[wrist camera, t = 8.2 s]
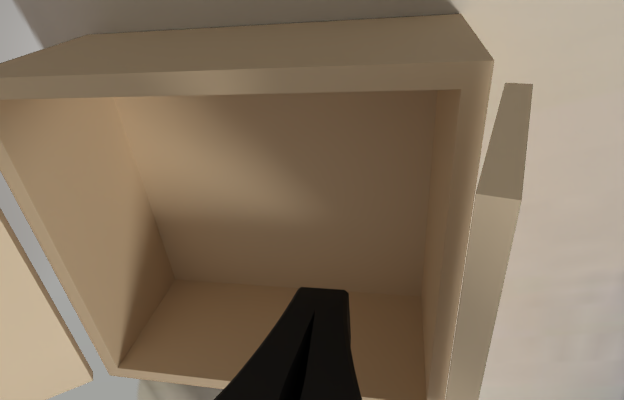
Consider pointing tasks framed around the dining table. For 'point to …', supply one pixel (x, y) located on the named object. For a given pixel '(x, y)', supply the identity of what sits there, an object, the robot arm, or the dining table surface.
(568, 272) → the dining table surface
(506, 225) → the near flap
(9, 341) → the far flap
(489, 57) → the carton
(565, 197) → the dining table surface
